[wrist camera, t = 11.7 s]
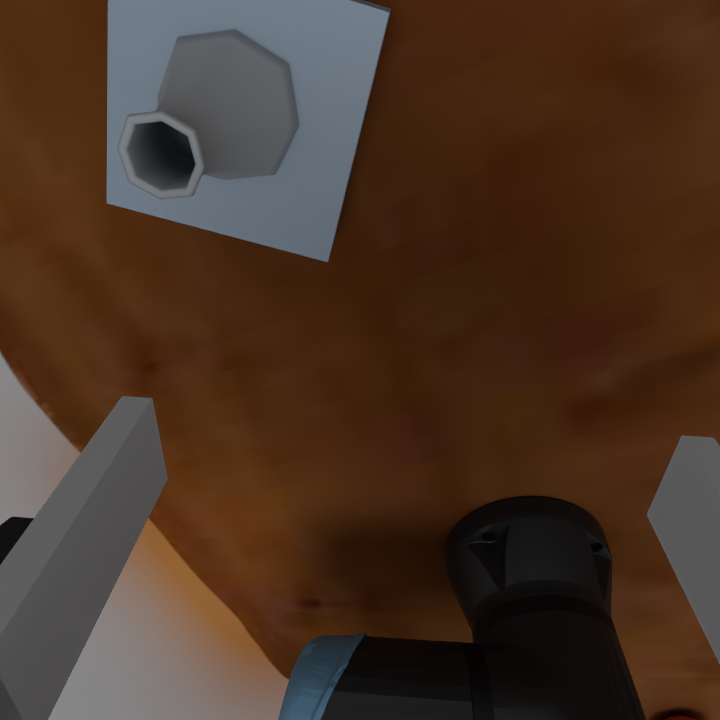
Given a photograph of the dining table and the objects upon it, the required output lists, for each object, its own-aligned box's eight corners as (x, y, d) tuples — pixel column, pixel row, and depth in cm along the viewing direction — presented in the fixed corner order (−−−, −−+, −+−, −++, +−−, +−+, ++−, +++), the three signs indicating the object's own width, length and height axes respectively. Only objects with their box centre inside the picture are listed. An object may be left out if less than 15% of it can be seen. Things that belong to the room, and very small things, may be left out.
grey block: (337, 226, 38) (327, 262, 33) (146, 174, 37) (106, 203, 32) (391, 8, 31) (389, 12, 26) (157, -65, 30) (108, -75, 25)
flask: (159, 163, 31) (68, 228, 22) (160, 10, 27) (50, 21, 18) (290, 193, 31) (248, 267, 23) (310, 46, 27) (269, 73, 19)
